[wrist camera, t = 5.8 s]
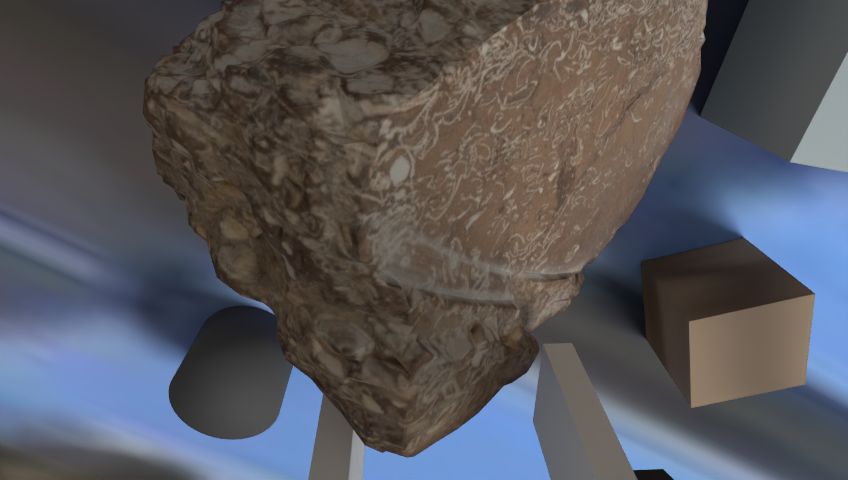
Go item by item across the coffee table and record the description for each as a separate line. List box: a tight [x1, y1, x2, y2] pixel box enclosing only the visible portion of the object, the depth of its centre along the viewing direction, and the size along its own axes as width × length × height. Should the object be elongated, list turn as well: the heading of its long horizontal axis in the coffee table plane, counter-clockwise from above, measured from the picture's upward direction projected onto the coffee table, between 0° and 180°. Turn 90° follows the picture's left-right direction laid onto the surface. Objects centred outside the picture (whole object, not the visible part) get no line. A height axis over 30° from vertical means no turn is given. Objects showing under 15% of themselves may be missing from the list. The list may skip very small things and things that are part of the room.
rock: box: [143, 0, 708, 457], centre depth 15 cm, size 18×10×10 cm
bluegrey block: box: [700, 0, 848, 172], centre depth 19 cm, size 5×5×6 cm
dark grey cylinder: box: [169, 306, 293, 439], centre depth 26 cm, size 5×5×4 cm
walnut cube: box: [641, 238, 815, 408], centre depth 24 cm, size 5×5×5 cm
